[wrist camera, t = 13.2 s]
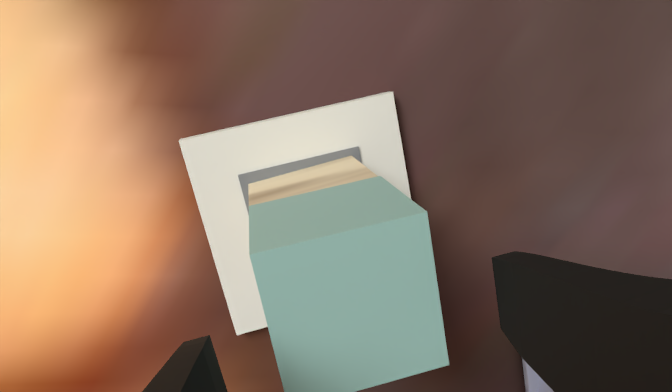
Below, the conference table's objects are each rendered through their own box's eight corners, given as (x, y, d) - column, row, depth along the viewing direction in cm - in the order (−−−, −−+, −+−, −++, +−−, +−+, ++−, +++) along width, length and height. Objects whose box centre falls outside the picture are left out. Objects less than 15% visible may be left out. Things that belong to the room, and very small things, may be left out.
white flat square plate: (421, 277, 24) (426, 283, 23) (236, 328, 23) (236, 336, 22) (389, 91, 21) (393, 92, 21) (180, 138, 20) (178, 141, 20)
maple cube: (374, 250, 22) (404, 293, 18) (277, 279, 22) (285, 331, 17) (351, 155, 21) (378, 176, 17) (248, 183, 20) (248, 213, 16)
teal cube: (400, 294, 18) (449, 364, 13) (278, 326, 17) (289, 410, 13) (380, 175, 17) (427, 211, 12) (248, 206, 16) (249, 254, 12)
